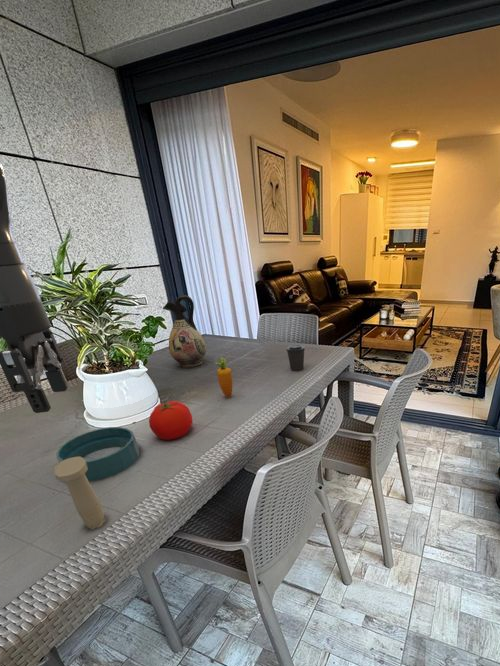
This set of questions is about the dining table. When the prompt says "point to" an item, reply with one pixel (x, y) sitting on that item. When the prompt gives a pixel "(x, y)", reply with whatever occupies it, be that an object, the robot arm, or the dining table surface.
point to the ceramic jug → (185, 335)
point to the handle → (81, 490)
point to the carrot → (225, 378)
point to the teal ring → (99, 441)
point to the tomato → (170, 420)
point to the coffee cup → (296, 357)
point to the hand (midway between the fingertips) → (52, 400)
